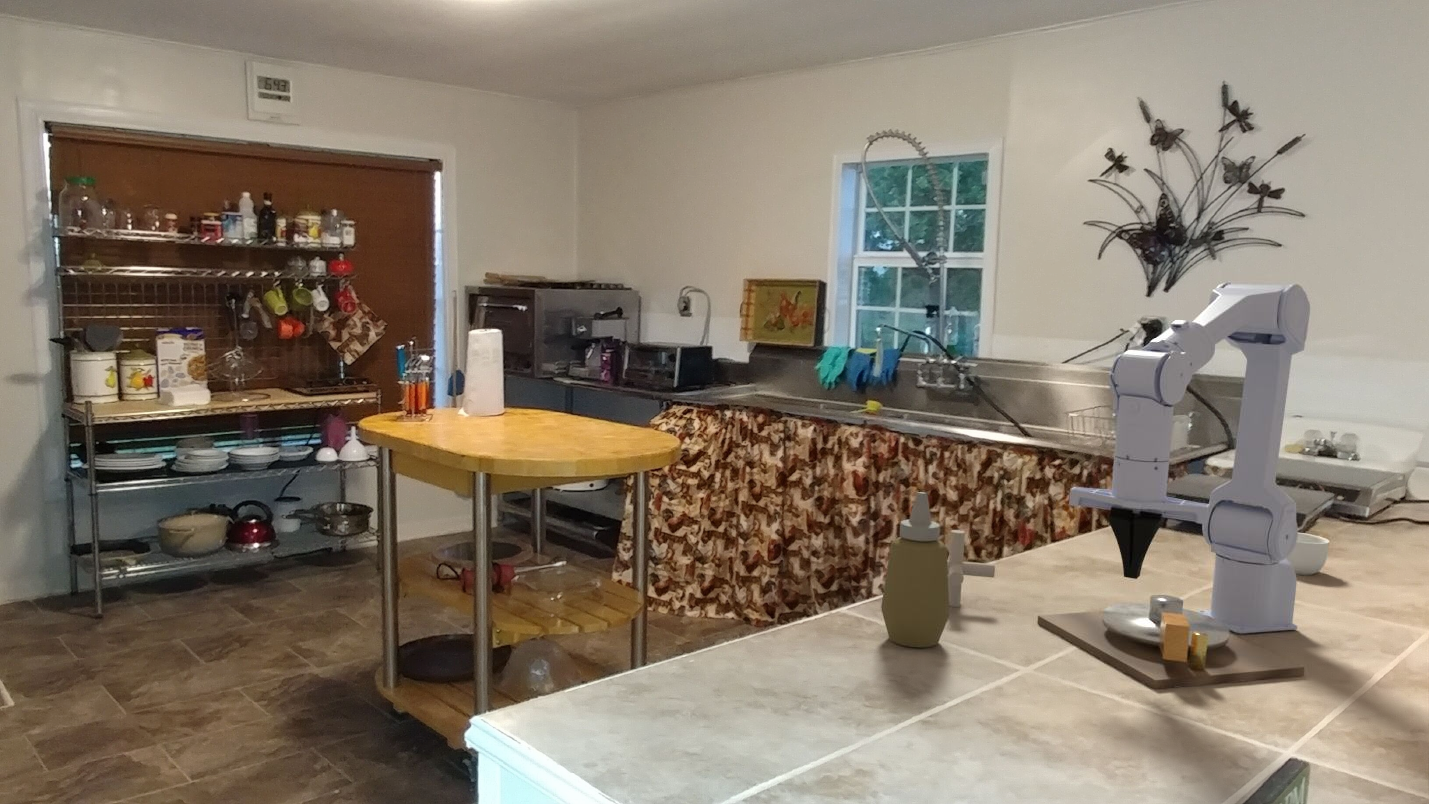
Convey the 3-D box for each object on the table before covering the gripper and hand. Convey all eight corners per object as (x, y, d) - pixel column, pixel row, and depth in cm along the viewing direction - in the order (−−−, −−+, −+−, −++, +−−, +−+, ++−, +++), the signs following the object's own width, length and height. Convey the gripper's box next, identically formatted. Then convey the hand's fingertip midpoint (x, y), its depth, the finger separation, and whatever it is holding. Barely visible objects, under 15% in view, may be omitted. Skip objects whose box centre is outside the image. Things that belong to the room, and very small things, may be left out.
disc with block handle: (1099, 605, 134) (1101, 574, 133) (1219, 619, 130) (1221, 588, 129) (1106, 651, 117) (1109, 616, 116) (1244, 669, 112) (1248, 633, 112)
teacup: (1332, 572, 163) (1336, 538, 162) (1317, 581, 158) (1321, 546, 157) (1264, 558, 170) (1267, 526, 170) (1247, 566, 165) (1250, 533, 164)
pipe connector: (993, 619, 134) (999, 543, 133) (914, 612, 136) (919, 537, 135) (989, 597, 143) (994, 526, 142) (915, 590, 145) (919, 520, 144)
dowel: (1197, 665, 117) (1200, 631, 116) (1208, 670, 115) (1211, 635, 115) (1185, 666, 116) (1188, 632, 116) (1196, 672, 115) (1199, 636, 114)
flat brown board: (1168, 614, 139) (1169, 599, 138) (1303, 675, 118) (1305, 658, 117) (1037, 623, 133) (1038, 607, 133) (1154, 689, 112) (1156, 671, 112)
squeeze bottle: (907, 656, 119) (916, 502, 117) (865, 634, 126) (873, 488, 124) (962, 647, 123) (971, 497, 121) (918, 626, 130) (927, 484, 128)
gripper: (1066, 454, 117) (1057, 572, 119) (1207, 470, 109) (1196, 596, 111) (1081, 447, 123) (1072, 559, 124) (1216, 462, 115) (1205, 581, 117)
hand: (1131, 576), depth 118 cm, fingers closed
